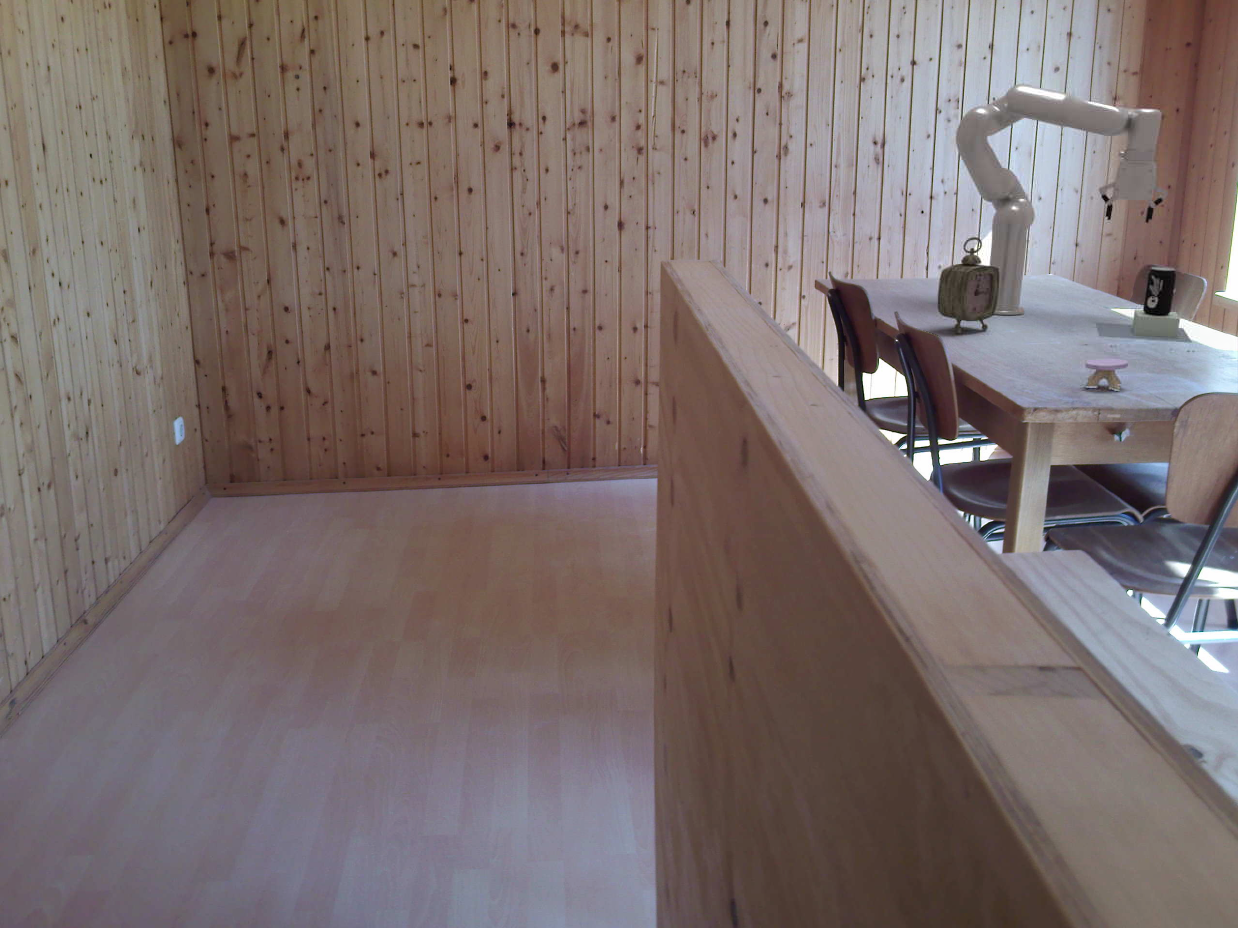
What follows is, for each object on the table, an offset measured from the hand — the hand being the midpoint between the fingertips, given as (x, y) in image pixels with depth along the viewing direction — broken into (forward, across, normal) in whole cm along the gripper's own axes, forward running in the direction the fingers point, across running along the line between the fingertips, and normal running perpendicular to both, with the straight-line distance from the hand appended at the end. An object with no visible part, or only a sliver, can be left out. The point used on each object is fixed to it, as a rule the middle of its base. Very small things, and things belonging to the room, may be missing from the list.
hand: (1127, 221), depth 309 cm
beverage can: (+22, +10, -18) cm, 30 cm away
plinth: (+27, +10, -18) cm, 34 cm away
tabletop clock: (+29, -37, -30) cm, 56 cm away
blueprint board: (+28, +7, -19) cm, 34 cm away
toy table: (+28, -2, -84) cm, 88 cm away
